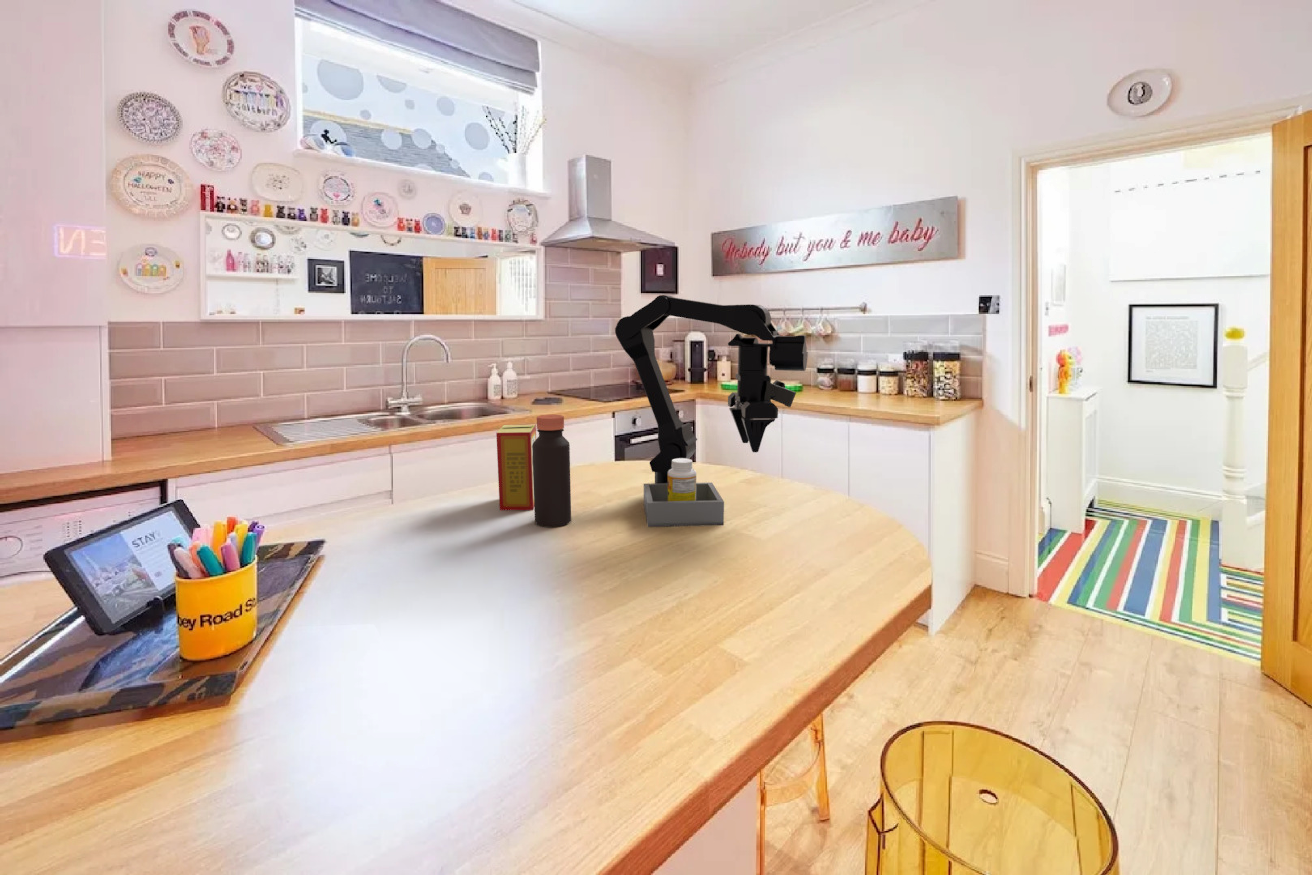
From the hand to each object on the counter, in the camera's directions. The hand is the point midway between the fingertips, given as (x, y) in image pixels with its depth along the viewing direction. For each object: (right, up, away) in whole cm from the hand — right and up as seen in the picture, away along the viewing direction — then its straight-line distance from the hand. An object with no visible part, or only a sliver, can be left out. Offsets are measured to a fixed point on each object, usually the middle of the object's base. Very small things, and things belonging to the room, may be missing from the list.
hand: (750, 447), depth 131 cm
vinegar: (-38, -14, -9) cm, 42 cm away
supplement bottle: (-14, -13, -4) cm, 19 cm away
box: (-14, -13, -4) cm, 20 cm away
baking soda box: (-47, -12, +3) cm, 49 cm away
